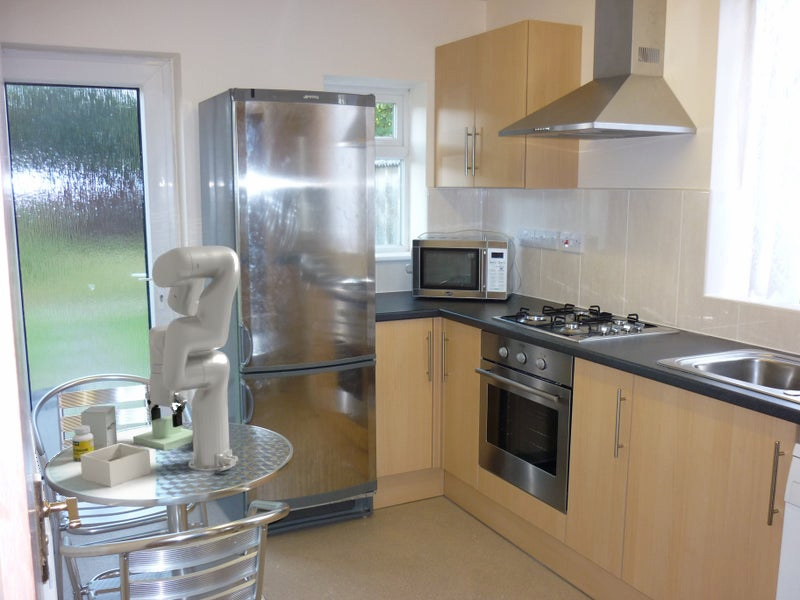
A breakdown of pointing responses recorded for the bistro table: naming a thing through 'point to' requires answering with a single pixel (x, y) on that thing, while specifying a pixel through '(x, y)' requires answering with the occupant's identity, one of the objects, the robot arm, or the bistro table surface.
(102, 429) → the supplement box
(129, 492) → the bistro table surface
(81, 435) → the supplement bottle
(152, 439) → the lid
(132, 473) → the storage box
